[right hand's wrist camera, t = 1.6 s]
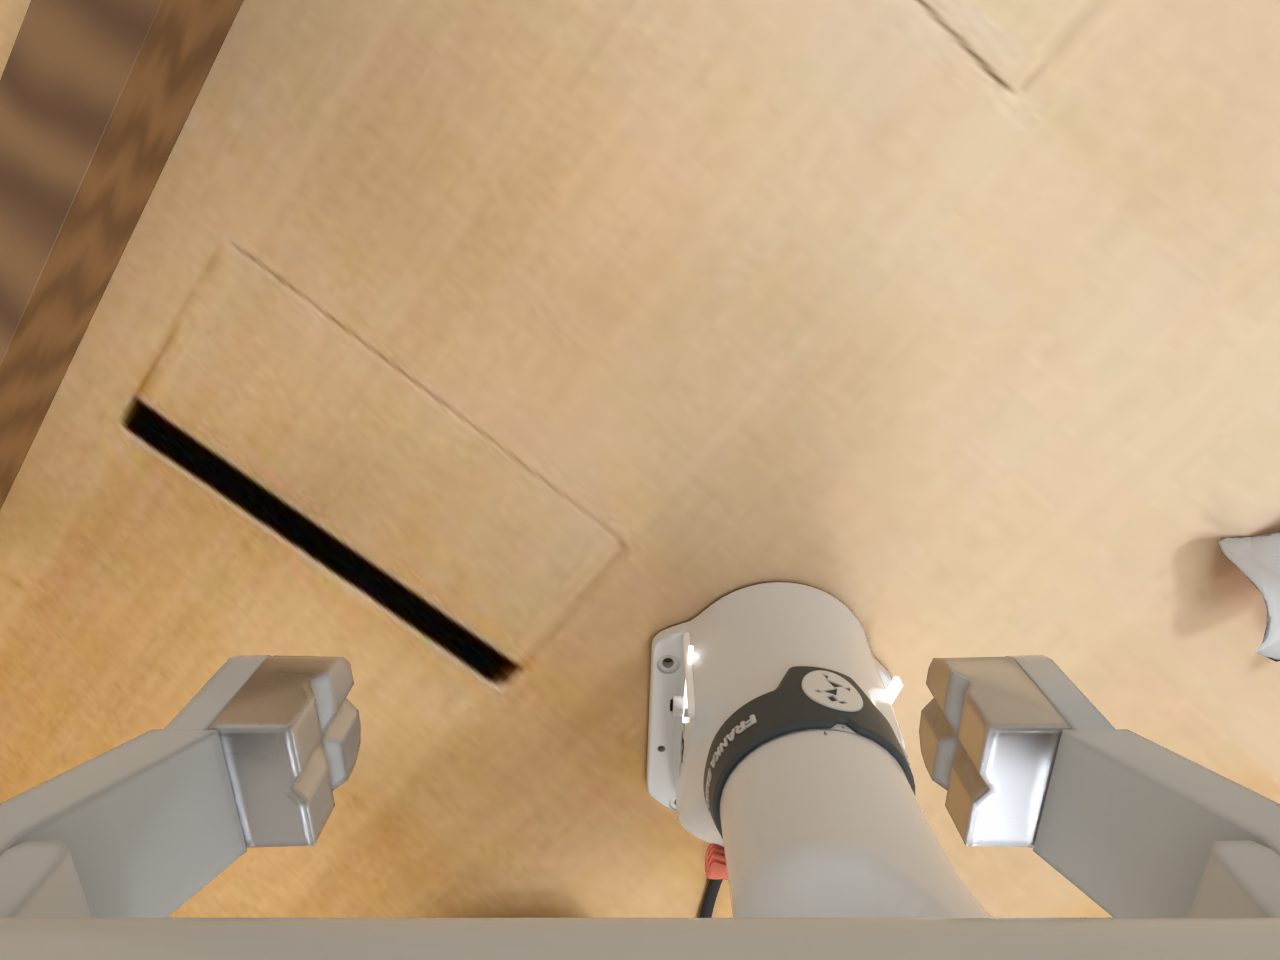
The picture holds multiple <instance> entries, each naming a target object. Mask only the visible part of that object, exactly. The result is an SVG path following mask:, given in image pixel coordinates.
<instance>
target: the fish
mask: <svg viewBox="0 0 1280 960" xmlns="http://www.w3.org/2000/svg"><path fill="white" fill-rule="evenodd" d="M1218 544H1219V546H1220V548H1221V550H1222V553H1223V554H1224V555H1225V556H1226V557H1227V558H1228V559H1229V560H1230V561H1231V562H1232V563H1233V564H1234V565H1236V566H1237V567H1238V568H1239V569H1240V570H1241V571H1242V572H1243V573H1244V574H1245V575H1246V576H1247V578H1248V579H1249V580H1250V581H1251V582H1252V583H1253V584H1254V585H1255V586H1256V587H1257V589H1258V590H1259V591H1260V592H1261V593H1262V594H1263V597H1264V600H1265V604H1266V607H1267V627H1266V631H1265V635H1264V639H1263V642H1262V644H1261V646H1260V647H1259V648H1258V650H1257V651H1256V653H1258V654H1261V655H1263V656H1265V657H1267V658H1270V659H1272V660H1274V661H1280V531H1278V532H1273V533H1268V534H1263V535H1257V536H1252V537H1231V538H1224V539H1221V540H1219V541H1218Z"/></svg>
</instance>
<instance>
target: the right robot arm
mask: <svg viewBox="0 0 1280 960" xmlns="http://www.w3.org/2000/svg"><path fill="white" fill-rule="evenodd" d="M666 658H671V659H672V661H671V662H665V661H663V660H664V659H666ZM353 685H354V681H353V676H352V671H351V666H350V663H349V662H348V661H347V660H346V659H345V658H344V657H311V656H273V657H272V656H269V655H265V656H236V657H233V658H229V659H228V660H227V661H226V663H225V664H224V665H223V666H222V667H221V668H220V669H219V670H218V671H217V672H216V674H215V675H214V676H213V677H212V678H211V679H210V680H209V681H208V682H207V683H206V684H205V686H204V687H203V688H202V689H201V690H200V691H199V692H198V693H197V694H196V695H195V696H194V698H193V699H192V700H191V701H190V702H189V703H188V704H187V705H186V706H185V707H184V708H183V710H182V711H181V712H180V713H179V714H178V715H177V716H176V717H175V718H174V719H173V720H172V722H171V723H170V724H169V725H168V726H167V727H166V728H165V729H164V730H151V731H148V732H146V733H144V734H142V735H140V736H138V737H136V738H134V739H132V740H130V741H128V742H126V743H124V744H122V745H120V746H118V747H116V748H114V749H112V750H110V751H108V752H105V753H103V754H101V755H99V756H97V757H95V758H93V759H91V760H89V761H87V762H85V763H83V764H81V765H79V766H77V767H75V768H73V769H71V770H69V771H67V772H65V773H63V774H60V775H58V776H56V777H54V778H52V779H50V780H48V781H46V782H44V783H42V784H40V785H38V786H36V787H34V788H32V789H30V790H28V791H26V792H24V793H22V794H20V795H17V796H15V797H13V798H11V799H9V800H7V801H5V802H3V803H1V804H0V960H1280V804H1278V803H1276V802H1274V801H1272V800H1270V799H1268V798H1266V797H1264V796H1262V795H1260V794H1258V793H1256V792H1254V791H1252V790H1250V789H1248V788H1246V787H1244V786H1242V785H1240V784H1238V783H1236V782H1234V781H1232V780H1229V779H1227V778H1225V777H1223V776H1221V775H1219V774H1217V773H1215V772H1213V771H1211V770H1209V769H1207V768H1205V767H1203V766H1201V765H1199V764H1197V763H1195V762H1193V761H1191V760H1189V759H1187V758H1185V757H1183V756H1180V755H1178V754H1176V753H1174V752H1172V751H1170V750H1168V749H1166V748H1164V747H1162V746H1160V745H1158V744H1156V743H1154V742H1152V741H1150V740H1148V739H1146V738H1144V737H1142V736H1140V735H1138V734H1136V733H1134V732H1132V731H1129V730H1116V729H1115V728H1114V727H1113V726H1112V725H1111V724H1110V723H1109V722H1108V720H1107V719H1106V718H1105V717H1104V716H1103V715H1102V714H1101V713H1100V712H1099V711H1098V710H1097V708H1096V707H1095V706H1094V705H1093V704H1092V703H1091V702H1090V701H1089V700H1088V699H1087V698H1086V696H1085V695H1084V694H1083V693H1082V692H1081V691H1080V690H1079V689H1078V688H1077V687H1076V686H1075V684H1074V683H1073V682H1072V681H1071V680H1070V679H1069V678H1068V677H1067V676H1066V675H1065V673H1064V672H1063V671H1062V670H1061V669H1060V668H1059V667H1058V666H1057V665H1056V664H1055V663H1054V661H1053V660H1052V659H1050V658H1048V657H1045V656H1043V655H1029V656H1006V657H974V658H933V660H932V662H931V664H930V666H929V669H928V675H927V680H926V685H927V686H928V688H929V690H930V691H931V693H932V695H933V697H934V698H933V699H932V700H931V701H930V702H929V703H928V704H927V705H926V706H925V707H924V708H923V710H922V711H921V719H920V728H919V735H920V746H921V753H922V756H923V760H924V763H925V766H926V768H927V770H928V772H929V774H930V777H931V779H932V780H933V781H934V782H936V783H937V784H939V785H940V786H941V787H943V788H944V789H946V790H947V797H946V803H945V806H946V808H947V810H948V812H949V814H950V816H951V818H952V820H953V822H954V824H955V826H956V827H957V829H958V831H959V833H960V835H961V837H962V839H963V841H964V843H965V845H966V846H998V847H1034V848H1033V851H1034V852H1035V853H1036V854H1038V855H1039V856H1040V857H1041V858H1042V859H1044V860H1045V861H1046V862H1047V863H1048V864H1050V865H1051V866H1052V867H1053V868H1054V869H1056V870H1057V871H1058V872H1059V873H1061V874H1062V875H1063V876H1064V877H1065V878H1067V879H1068V880H1069V881H1070V882H1071V883H1073V884H1074V885H1075V886H1076V887H1077V888H1079V889H1080V890H1081V891H1082V892H1083V893H1085V894H1086V895H1087V896H1088V897H1089V898H1091V899H1092V900H1093V901H1094V902H1095V903H1097V904H1098V905H1099V906H1100V907H1101V908H1103V909H1104V910H1105V911H1106V912H1107V913H1109V914H1110V915H1111V916H1112V917H1114V918H993V917H992V916H991V915H990V914H989V913H988V912H987V911H986V910H985V909H984V908H983V906H982V905H981V904H980V903H979V902H978V900H977V899H976V898H975V897H974V896H973V895H972V893H971V892H970V891H969V890H968V888H967V887H966V885H965V884H964V883H963V881H962V880H961V878H960V877H959V875H958V874H957V873H956V871H955V869H954V868H953V866H952V864H951V863H950V861H949V859H948V857H947V856H946V854H945V852H944V850H943V848H942V847H941V845H940V843H939V841H938V839H937V837H936V835H935V834H934V832H933V830H932V828H931V826H930V824H929V822H928V821H927V819H926V817H925V815H924V813H923V811H922V809H921V807H920V805H919V803H918V801H917V799H916V797H915V784H914V779H913V775H912V772H911V769H910V767H909V766H910V764H909V763H908V760H907V755H906V753H905V750H904V740H903V737H902V734H901V731H900V728H899V725H898V722H897V719H896V716H895V713H894V710H893V707H892V703H893V701H894V699H895V698H896V696H897V695H898V693H899V691H900V690H901V688H902V687H903V684H902V682H901V680H900V679H899V677H897V676H895V677H894V678H893V679H892V677H891V675H890V674H889V672H888V671H887V670H886V669H885V668H884V667H883V666H882V665H881V664H880V663H879V662H878V661H877V660H876V659H875V658H874V657H873V655H872V653H871V650H870V648H869V645H868V641H867V638H866V635H865V632H864V630H863V628H862V626H861V624H860V622H859V621H858V619H857V618H856V617H855V615H854V614H853V613H852V612H851V611H850V609H849V608H848V607H847V606H845V605H844V604H843V603H842V602H841V601H839V600H838V599H836V598H835V597H833V596H832V595H830V594H828V593H826V592H824V591H822V590H819V589H817V588H814V587H811V586H807V585H803V584H798V583H790V582H769V583H762V584H756V585H752V586H748V587H745V588H742V589H739V590H736V591H734V592H732V593H730V594H728V595H726V596H724V597H722V598H721V599H719V600H717V601H716V602H715V603H713V604H712V605H711V606H709V607H708V608H707V609H706V610H704V611H703V612H702V613H701V614H699V615H698V616H697V617H695V618H694V619H692V620H690V621H688V622H685V623H681V624H678V625H675V626H672V627H669V628H667V629H665V630H662V631H661V632H659V633H658V634H656V636H655V637H654V638H653V641H652V648H651V674H650V700H649V726H648V752H647V787H648V792H649V794H650V795H651V796H652V797H653V798H654V799H655V800H657V801H658V802H659V803H661V804H662V805H664V806H665V807H667V808H669V809H671V810H673V811H675V812H677V817H678V821H679V823H680V824H681V825H682V827H683V828H684V829H685V830H686V831H688V832H689V833H690V834H692V835H693V836H695V837H697V838H699V839H701V840H703V841H705V842H708V843H710V845H709V847H708V849H707V853H706V859H705V872H706V876H707V878H708V879H711V880H710V882H709V885H708V888H707V892H706V895H705V899H704V902H703V907H702V911H701V915H700V918H167V917H168V916H169V915H170V914H171V913H173V912H174V911H175V910H176V909H178V908H179V907H180V906H181V905H182V904H184V903H185V902H186V901H187V900H188V899H190V898H191V897H192V896H193V895H194V894H196V893H197V892H198V891H199V890H200V889H202V888H203V887H204V886H205V885H206V884H208V883H209V882H210V881H211V880H213V879H214V878H215V877H216V876H217V875H219V874H220V873H221V872H222V871H223V870H225V869H226V868H227V867H228V866H229V865H231V864H232V863H233V862H234V861H235V860H237V859H238V858H239V857H240V856H241V855H243V854H244V853H245V852H246V851H247V849H246V847H281V846H314V845H315V843H316V841H317V839H318V837H319V835H320V833H321V831H322V829H323V828H324V826H325V824H326V822H327V820H328V818H329V816H330V814H331V812H332V810H333V808H334V806H335V803H334V797H333V792H332V791H333V790H334V789H336V788H337V787H339V786H340V785H341V784H343V783H344V782H346V781H347V780H348V779H349V776H350V774H351V772H352V770H353V768H354V766H355V764H356V760H357V755H358V751H359V746H360V730H361V725H360V718H359V711H358V710H357V709H356V707H355V706H354V705H353V704H352V703H351V702H350V701H349V700H348V699H347V698H346V697H347V695H348V693H349V691H350V690H351V688H352V686H353ZM723 879H727V880H728V882H729V890H730V897H731V905H732V913H733V918H711V916H712V912H713V908H714V904H715V900H716V897H717V894H718V891H719V888H720V885H721V882H722V880H723Z"/></svg>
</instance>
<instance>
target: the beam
mask: <svg viewBox="0 0 1280 960" xmlns="http://www.w3.org/2000/svg"><path fill="white" fill-rule="evenodd" d="M242 2H243V0H31V3H30V6H29V8H28V11H27V13H26V16H25V18H24V21H23V23H22V26H21V29H20V31H19V34H18V36H17V39H16V41H15V44H14V46H13V49H12V52H11V54H10V57H9V59H8V62H7V64H6V67H5V70H4V72H3V75H2V77H1V80H0V509H1V507H2V505H3V503H4V500H5V498H6V496H7V494H8V492H9V490H10V488H11V486H12V484H13V482H14V480H15V477H16V475H17V473H18V471H19V469H20V467H21V465H22V463H23V461H24V459H25V456H26V454H27V452H28V450H29V448H30V446H31V444H32V442H33V440H34V438H35V436H36V433H37V431H38V429H39V427H40V425H41V423H42V421H43V419H44V417H45V415H46V412H47V410H48V408H49V406H50V404H51V402H52V400H53V398H54V396H55V394H56V392H57V389H58V387H59V385H60V383H61V381H62V379H63V377H64V375H65V373H66V371H67V368H68V366H69V364H70V362H71V360H72V358H73V356H74V354H75V352H76V350H77V347H78V345H79V343H80V341H81V339H82V337H83V335H84V333H85V331H86V329H87V327H88V324H89V322H90V320H91V318H92V316H93V314H94V312H95V310H96V308H97V306H98V303H99V301H100V299H101V297H102V295H103V293H104V291H105V289H106V287H107V285H108V283H109V280H110V278H111V276H112V274H113V272H114V270H115V268H116V266H117V264H118V262H119V259H120V257H121V255H122V253H123V251H124V249H125V247H126V245H127V243H128V241H129V239H130V236H131V234H132V232H133V230H134V228H135V226H136V224H137V222H138V220H139V218H140V215H141V213H142V211H143V209H144V207H145V205H146V203H147V201H148V199H149V197H150V195H151V192H152V190H153V188H154V186H155V184H156V182H157V180H158V178H159V176H160V174H161V171H162V169H163V167H164V165H165V163H166V161H167V159H168V157H169V155H170V153H171V150H172V148H173V146H174V144H175V142H176V140H177V138H178V136H179V134H180V132H181V130H182V127H183V125H184V123H185V121H186V119H187V117H188V115H189V113H190V111H191V109H192V106H193V104H194V102H195V100H196V98H197V96H198V94H199V92H200V90H201V88H202V86H203V83H204V81H205V79H206V77H207V75H208V73H209V71H210V69H211V67H212V65H213V62H214V60H215V58H216V56H217V54H218V52H219V50H220V48H221V46H222V44H223V42H224V39H225V37H226V35H227V33H228V31H229V29H230V27H231V25H232V23H233V21H234V18H235V16H236V14H237V12H238V10H239V8H240V6H241V4H242Z"/></svg>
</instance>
